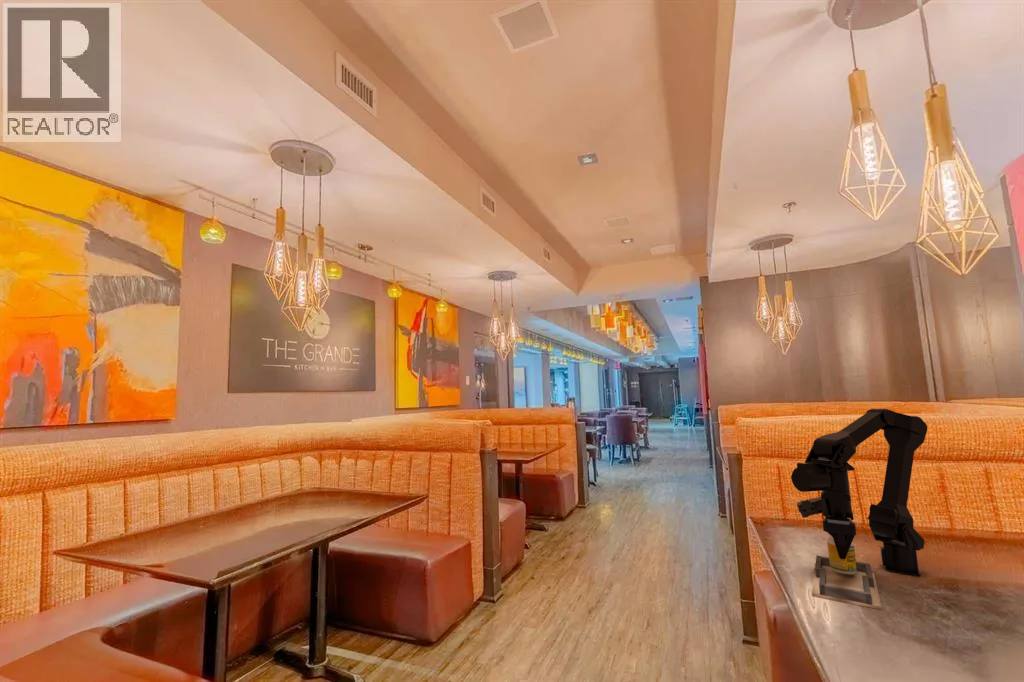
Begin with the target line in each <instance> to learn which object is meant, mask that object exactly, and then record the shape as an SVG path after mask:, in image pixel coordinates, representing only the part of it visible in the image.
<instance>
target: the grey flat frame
mask: <svg viewBox="0 0 1024 682" xmlns="http://www.w3.org/2000/svg"><path fill="white" fill-rule="evenodd" d="M856 568H857V572H856V573H855V574H842V573H838V572H835V571H833V570H832V569H831V568H830V562H829V556H824V555H823V556H822V555H816V556H815V563H814V566H813V569H814V570H813V579H812V587H811V589H812V590H811V595H812V597H815V596H816V597H815V598H820V599H821V598H822V599H826V600H831V601H834V602H835V601H836V602H840V603H841V602H842V603H844V604H845V603H846V604H852V605H858V606H861V607H866V608H871V609H875V610H881V611H882V610H883V607H882V604H881V598H880V595H879V589H878V587H877V586H878V585H877V583H876V577H875V573H874V572H872V566H871V564H870V563H868V562H867V563H866V562H861V561H856Z"/></svg>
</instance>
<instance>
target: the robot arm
mask: <svg viewBox="0 0 1024 682" xmlns="http://www.w3.org/2000/svg"><path fill="white" fill-rule="evenodd" d="M880 430H883V436H884V438H885V440H886V442H887V444H888V447H889V450H888V455H887V461H886V467H885V475H884V481H883V489H882V495H881V499H880V501H879V502H878V503H877V504H874V503H872V504H871V505H870V506H869V513H868V517H867V520H868V527H869V528H870V530H871V533H872V536H873V538H874V540H875V541H876V542H877V541H878V542H882V546H880V547H879V548H880V558H881V564H882V566H883V567H884V568H885V570H886V571H888V572H891V573H898V574H903V575H904V574H905V575H909V576H910V575H912V576H915V577H916V576H917V577H921V571H919V565H918V564H919V563H918V556H917V555H918V553H917V551H921V550H922V549H924V548H925V543H926V541H925V538H924V537H923V536H921V535H920V533H919V532H918V531H917V530H916V529H915V528H914V518H913V516H912V515H911V512H910V511H909V510H910V509H908V501H909V492H910V485H911V478H912V471H913V470H912V469H913V464H914V457H915V451H917V449H919V448H920V447H921V446H922V445H923V444H924V442H925V439H926V436H927V433H928V425H927V423H926V422H925V421H924V420H923V419H922V417H920V416H916V415H909V414H904V413H901V412H896V411H894V410H892V409H888V408H869V409H867V411H866V412H865V414H863V415H861V416H860V417H859V418H856V420H854V421H852V422H851V423H850V424H848V425H847V426H845V427H843V428H842V429H840V430H839V431H836V432H831V433H826V434H824V435H821V436H819V437H817V438H815V439H814V441H813V443H812V446H811V447H810V448H811V449H810V450H809V452H808V455H807V457H806V458H805V461H804V462H797V463H796V468H794V469H793V471H792V473H791V475H790V479H791V483H792V484H793V485H792V486H794V488H795V489H796V490H797V491H799V492H802V493H806V492H808V493H809V492H820V496H819V497H813V498H809V499H808V498H806V499H805V500H803V499H802V500H800V501H797V502H796V507H797V508H798V512H800V515H801V517H802V519H803V518H808V517H809V516H814V515H820V514H822V516H823V517H824V518H823V519H822V529H823V532H826V533H828V534H829V535H830V536H832V537H833V540H834V543H835V546H836V549H837V552H838V555H839V558H840V559H846V556H847V554H848V551H849V548H850V546H851V543H852V541H853V542H854V539H855V536H856V535H857V528H856V527H857V526H856V523H855V522H854V512H853V509H852V499H851V491H850V482H849V480H850V479H849V472H850V471H851V472H853V471H855V470H856V469H855V467H854V466H852V465H851V464H850V463H848V462H849V460H850V459H852V458H853V457H854V455H855V454H856V452H857V447H858V446H859V445H860V444H862V443H863V442H865V441H866V440H867V439H869V438H870V437H872V436H873V435H874V434H875V433H877V432H879V431H880Z"/></svg>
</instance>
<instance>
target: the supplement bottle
mask: <svg viewBox="0 0 1024 682" xmlns="http://www.w3.org/2000/svg"><path fill="white" fill-rule="evenodd" d="M826 544H827V551H828V552H827V553H828V557H829V562H830V568H831V569H832V570H833V571H835V572H838V573H842V574H855V573H856V572H857V568H856V562H857V561H856V552H855V543H854V540H853V541H852V543H851V546H850V548H849V551H848V554H847V556H846V559H840V558H839V555H838V552H837V549H836V546H835V543H834V540H833V537H832V536H831V535H830V536H828V537H827V543H826Z"/></svg>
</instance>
